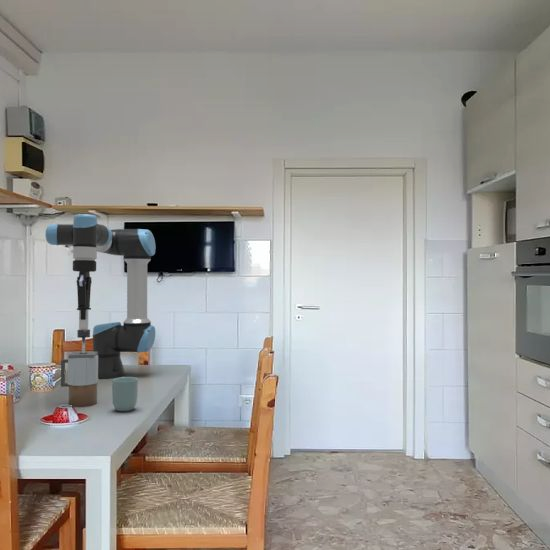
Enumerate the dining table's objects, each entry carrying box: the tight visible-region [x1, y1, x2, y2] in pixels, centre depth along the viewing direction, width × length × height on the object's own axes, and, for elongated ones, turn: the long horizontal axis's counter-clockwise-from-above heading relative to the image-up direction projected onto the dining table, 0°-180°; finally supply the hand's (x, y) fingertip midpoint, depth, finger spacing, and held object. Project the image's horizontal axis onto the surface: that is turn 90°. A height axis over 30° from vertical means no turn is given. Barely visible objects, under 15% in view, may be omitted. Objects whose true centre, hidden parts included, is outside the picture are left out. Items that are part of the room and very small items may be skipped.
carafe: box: [60, 351, 99, 408], centre depth 168 cm, size 9×12×17 cm
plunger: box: [76, 328, 91, 354], centre depth 168 cm, size 7×7×14 cm
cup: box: [111, 376, 139, 412], centre depth 160 cm, size 8×8×10 cm
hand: (83, 329), depth 168 cm, fingers closed
